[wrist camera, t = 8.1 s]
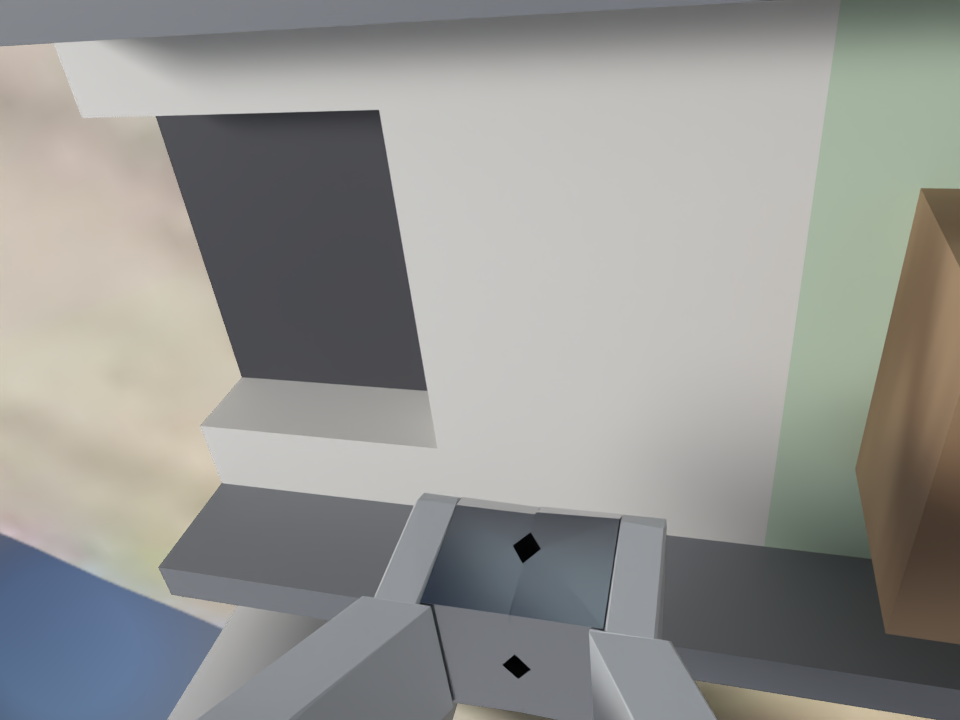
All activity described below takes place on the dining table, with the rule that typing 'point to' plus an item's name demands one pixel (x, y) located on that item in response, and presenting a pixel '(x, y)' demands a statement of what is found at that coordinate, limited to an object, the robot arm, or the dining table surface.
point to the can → (245, 657)
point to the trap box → (551, 287)
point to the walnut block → (918, 435)
